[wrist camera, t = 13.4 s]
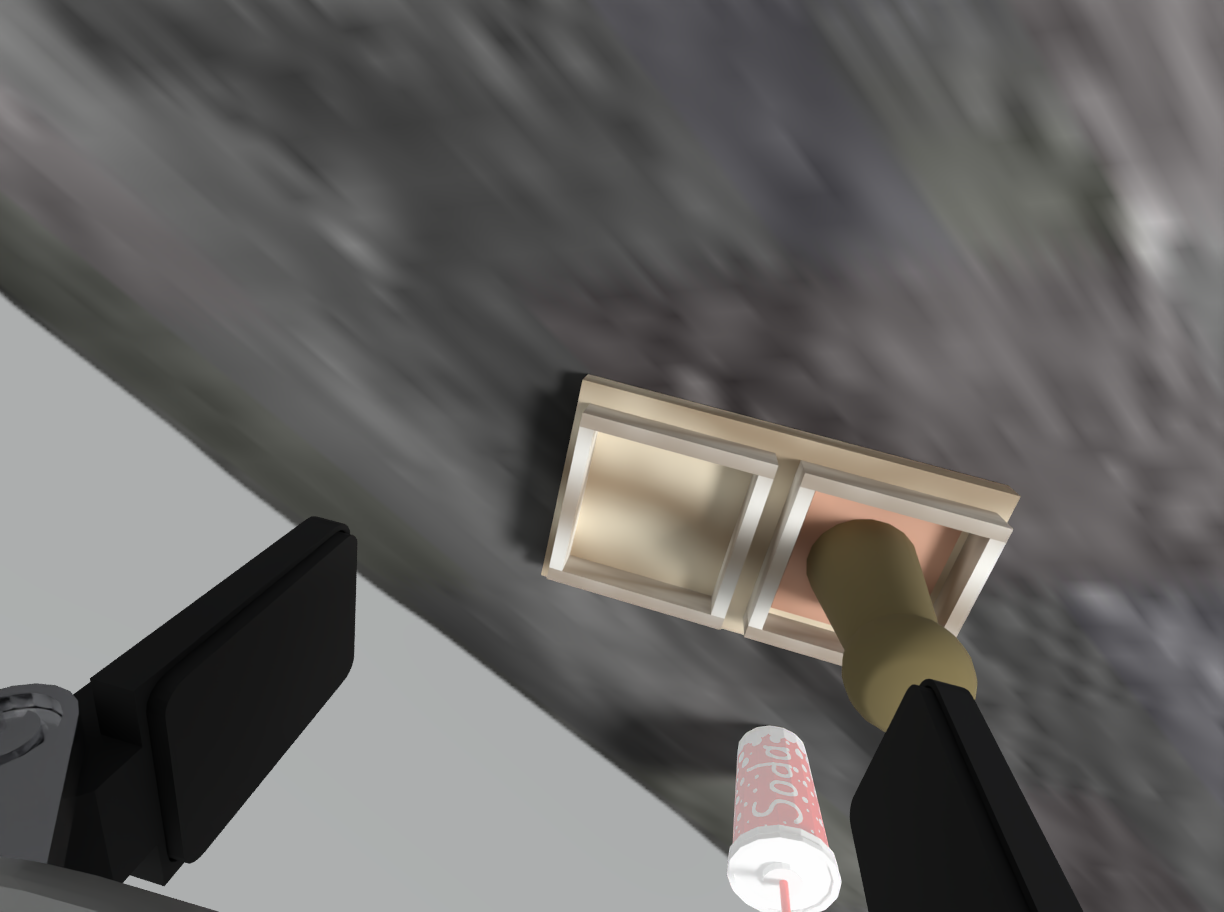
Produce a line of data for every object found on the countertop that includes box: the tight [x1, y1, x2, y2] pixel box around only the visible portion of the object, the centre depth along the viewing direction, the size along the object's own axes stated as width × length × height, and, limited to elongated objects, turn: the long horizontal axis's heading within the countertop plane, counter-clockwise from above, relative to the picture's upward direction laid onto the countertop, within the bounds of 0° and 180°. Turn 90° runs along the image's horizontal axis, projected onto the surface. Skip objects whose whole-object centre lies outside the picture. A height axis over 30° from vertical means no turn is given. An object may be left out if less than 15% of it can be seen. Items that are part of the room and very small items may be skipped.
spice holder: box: [541, 374, 1021, 666], centre depth 35 cm, size 13×24×4 cm, turn 77°
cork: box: [806, 519, 977, 732], centre depth 30 cm, size 6×6×11 cm
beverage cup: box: [727, 725, 841, 912], centre depth 36 cm, size 6×6×14 cm
